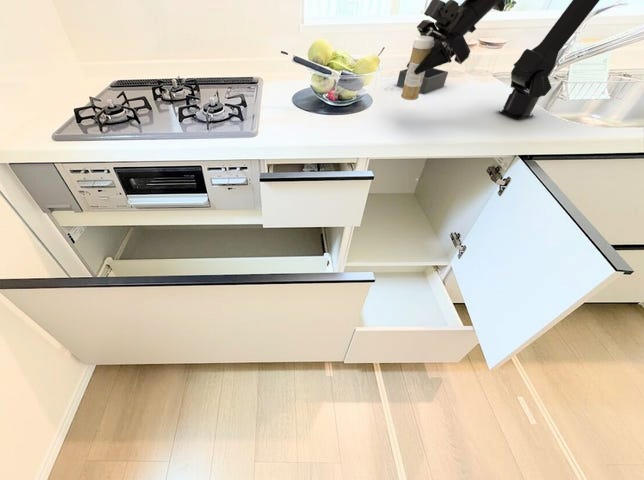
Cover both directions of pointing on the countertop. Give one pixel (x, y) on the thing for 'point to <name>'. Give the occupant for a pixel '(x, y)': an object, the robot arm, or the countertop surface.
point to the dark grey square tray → (427, 80)
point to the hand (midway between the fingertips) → (411, 70)
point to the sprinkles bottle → (412, 80)
